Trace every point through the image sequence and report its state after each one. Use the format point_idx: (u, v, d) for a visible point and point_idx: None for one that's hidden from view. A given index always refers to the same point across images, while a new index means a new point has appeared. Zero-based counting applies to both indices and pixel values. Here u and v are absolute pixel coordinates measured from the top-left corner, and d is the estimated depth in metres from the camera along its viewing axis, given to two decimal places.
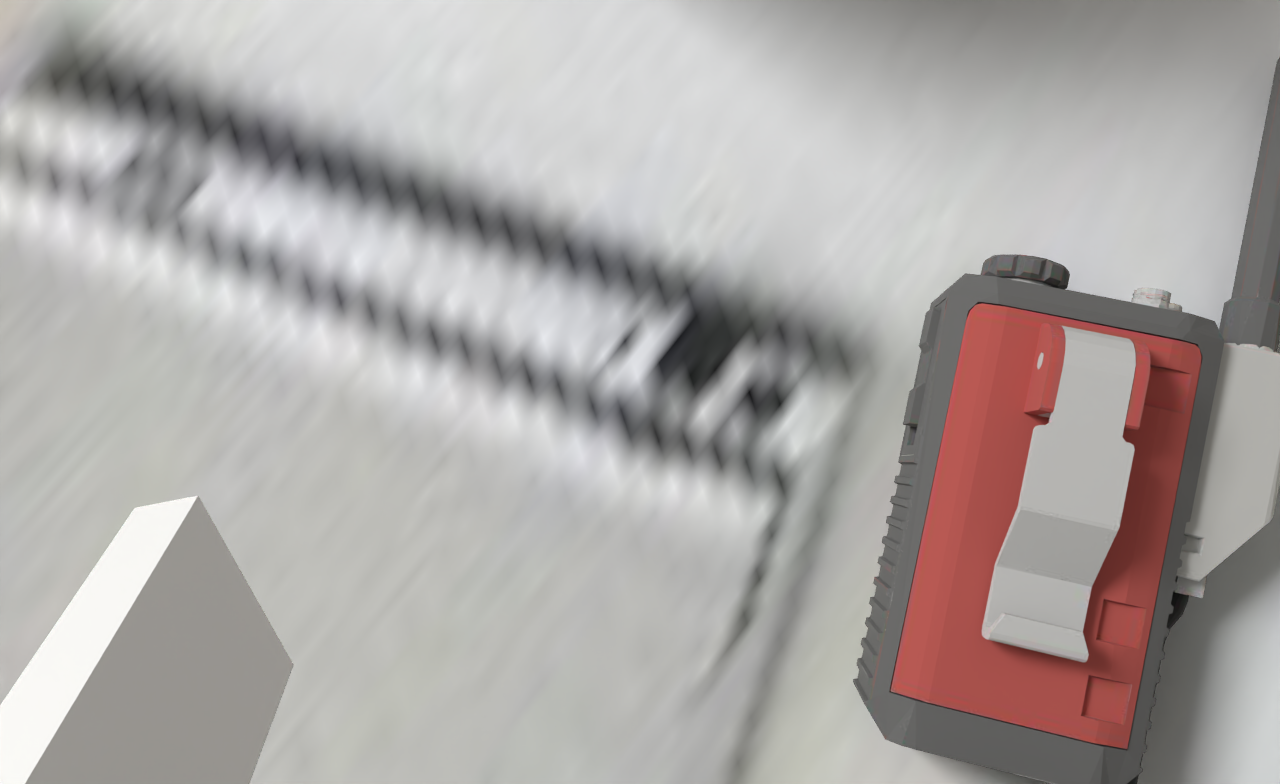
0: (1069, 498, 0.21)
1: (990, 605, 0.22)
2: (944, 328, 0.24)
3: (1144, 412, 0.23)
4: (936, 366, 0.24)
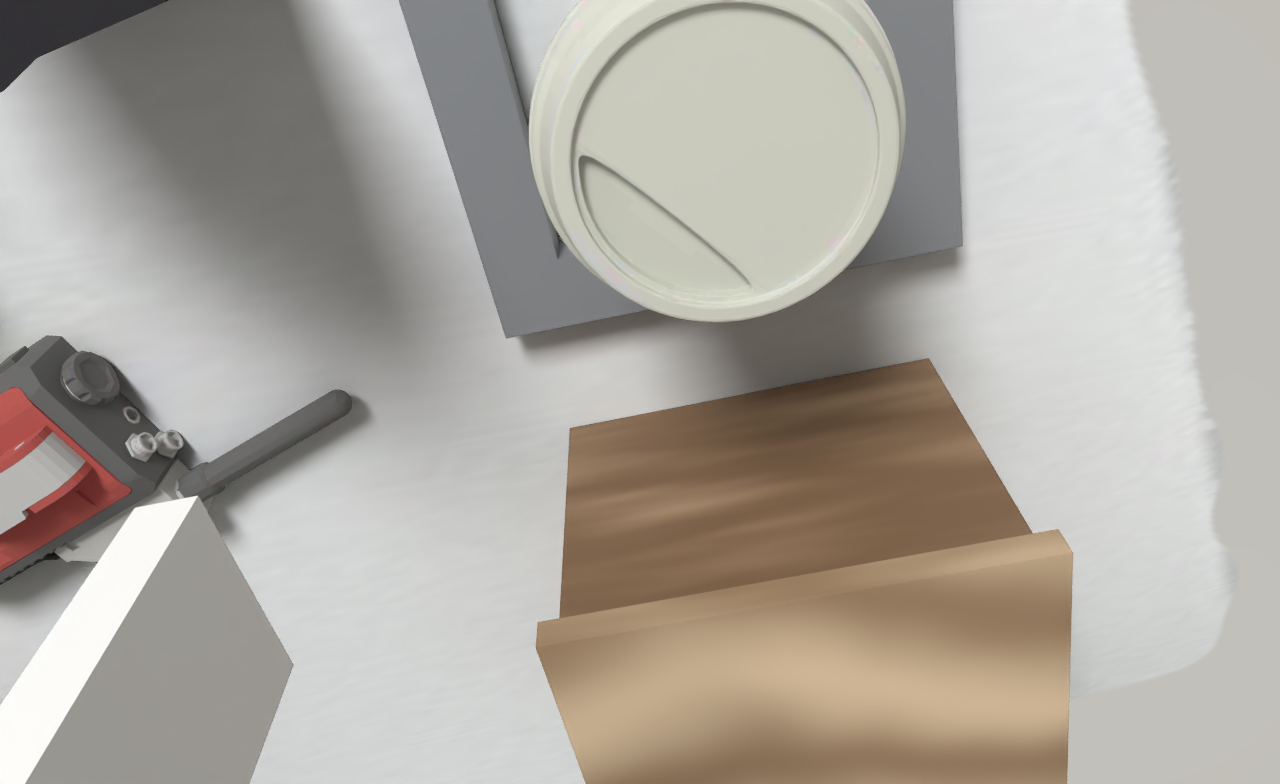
0: None
1: None
2: None
3: (73, 495, 0.36)
4: None
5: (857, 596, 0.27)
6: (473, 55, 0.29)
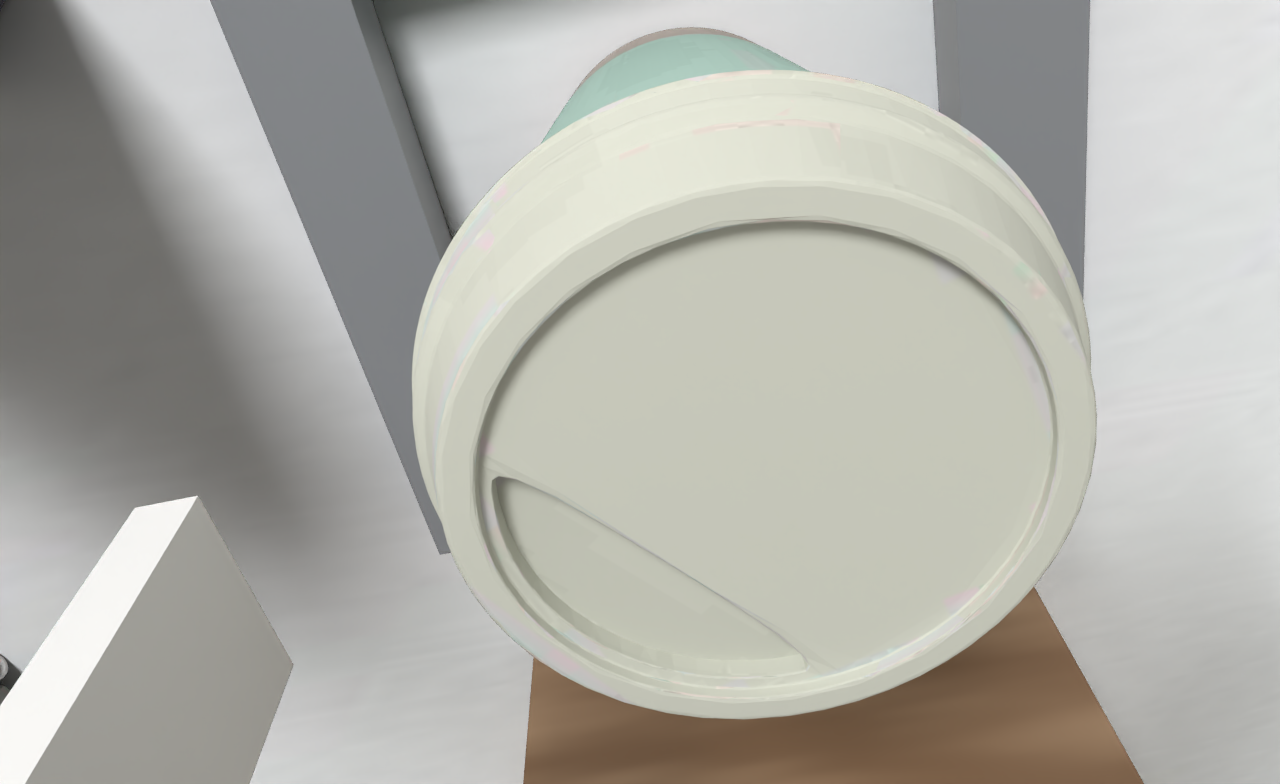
0: None
1: None
2: None
3: None
4: None
5: None
6: (372, 187, 0.20)
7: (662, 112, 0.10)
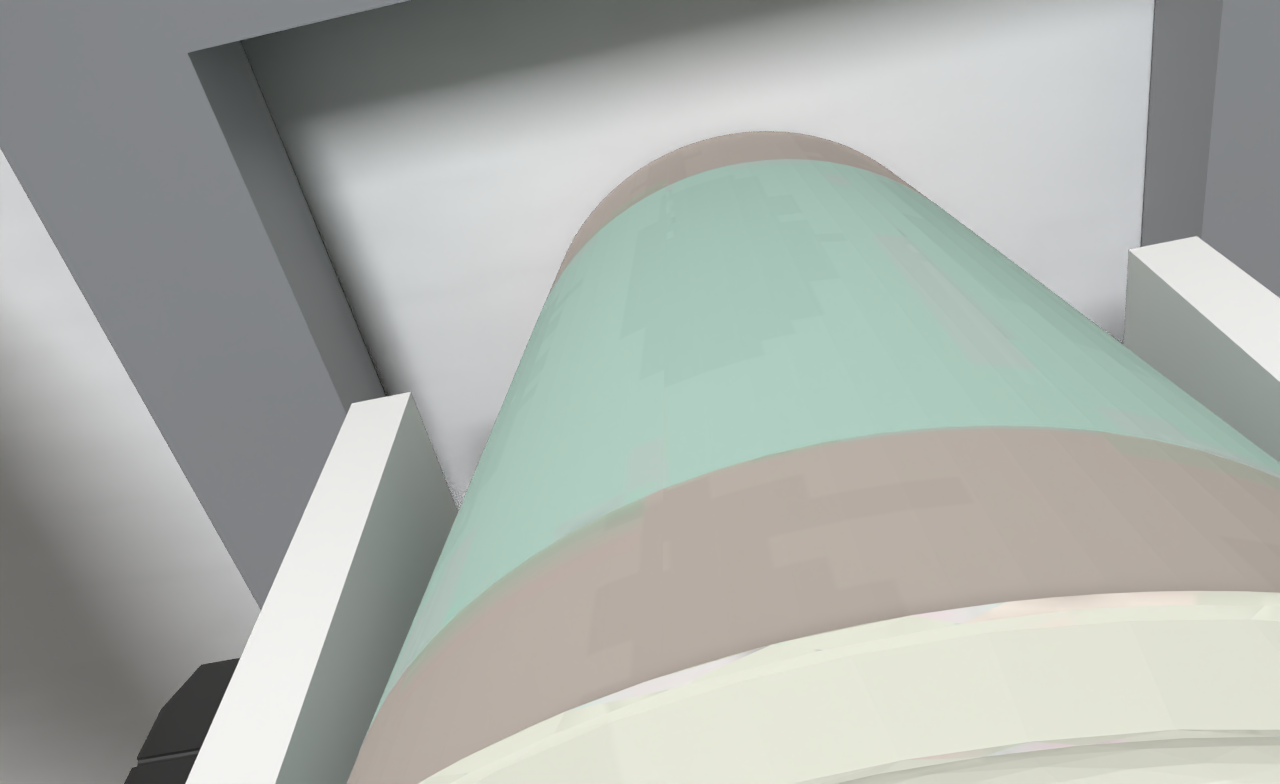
0: None
1: None
2: None
3: None
4: None
5: None
6: (265, 380, 0.13)
7: None
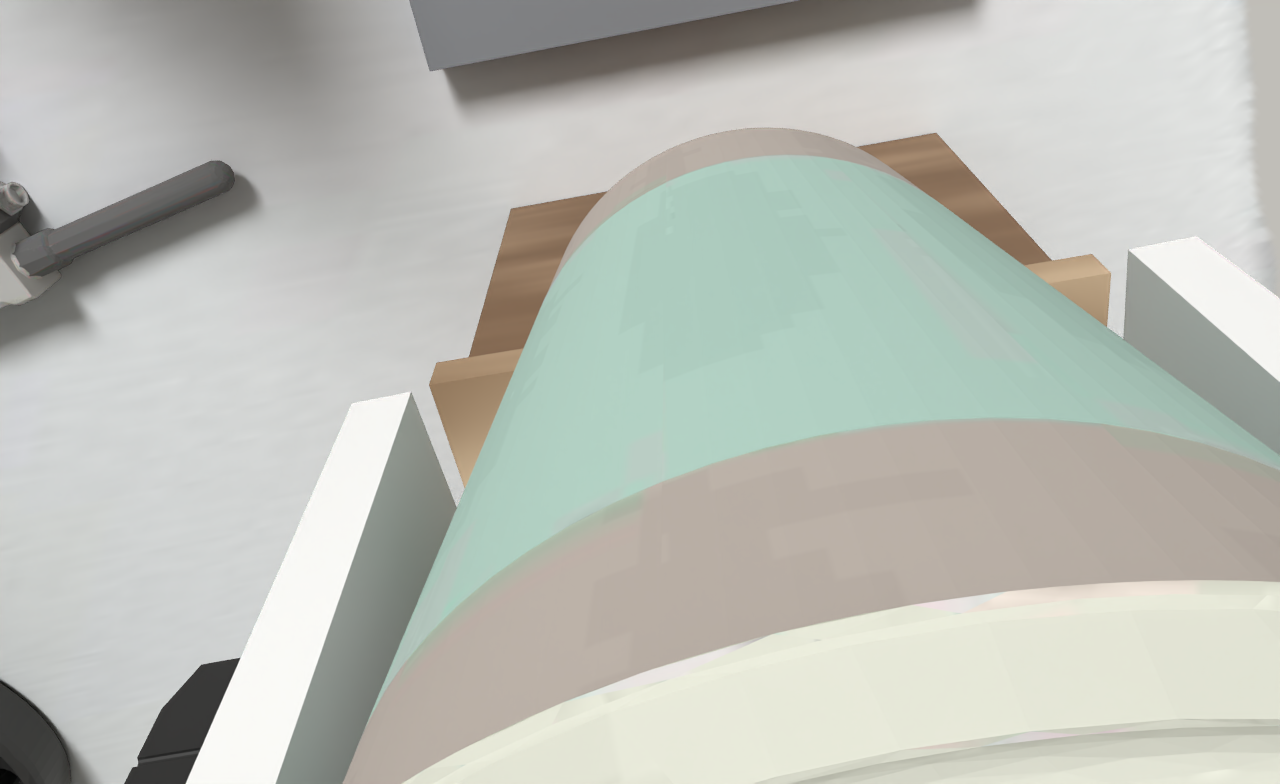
0: None
1: None
2: None
3: None
4: None
5: None
6: None
7: None
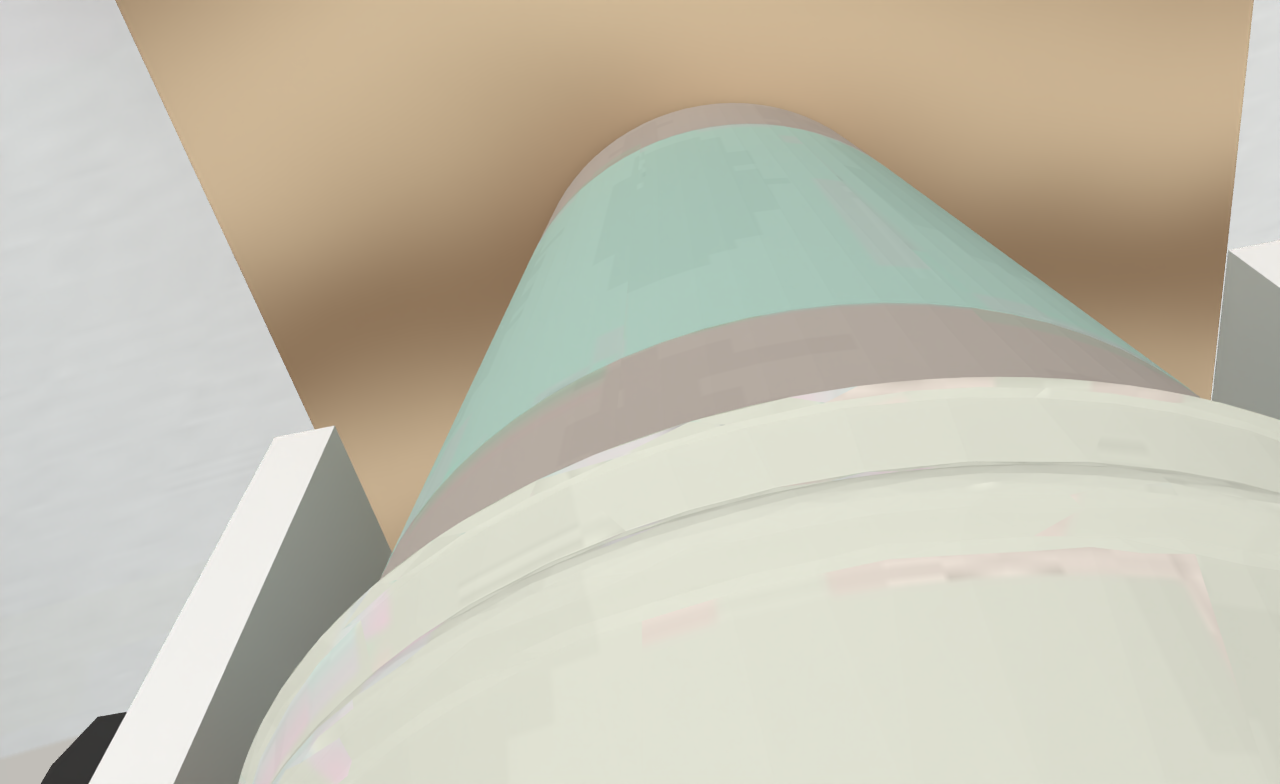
0: None
1: None
2: None
3: None
4: None
5: None
6: None
7: (746, 506, 0.04)
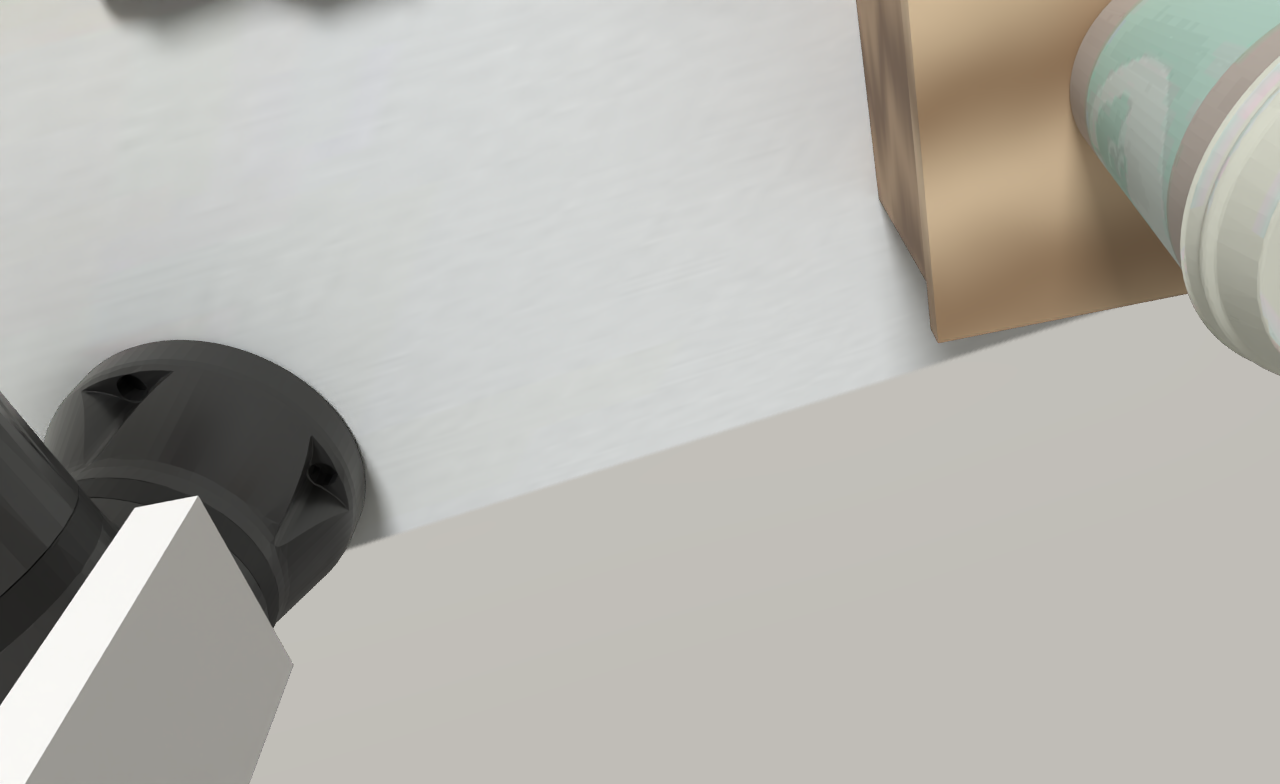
0: None
1: None
2: None
3: None
4: None
5: None
6: None
7: None
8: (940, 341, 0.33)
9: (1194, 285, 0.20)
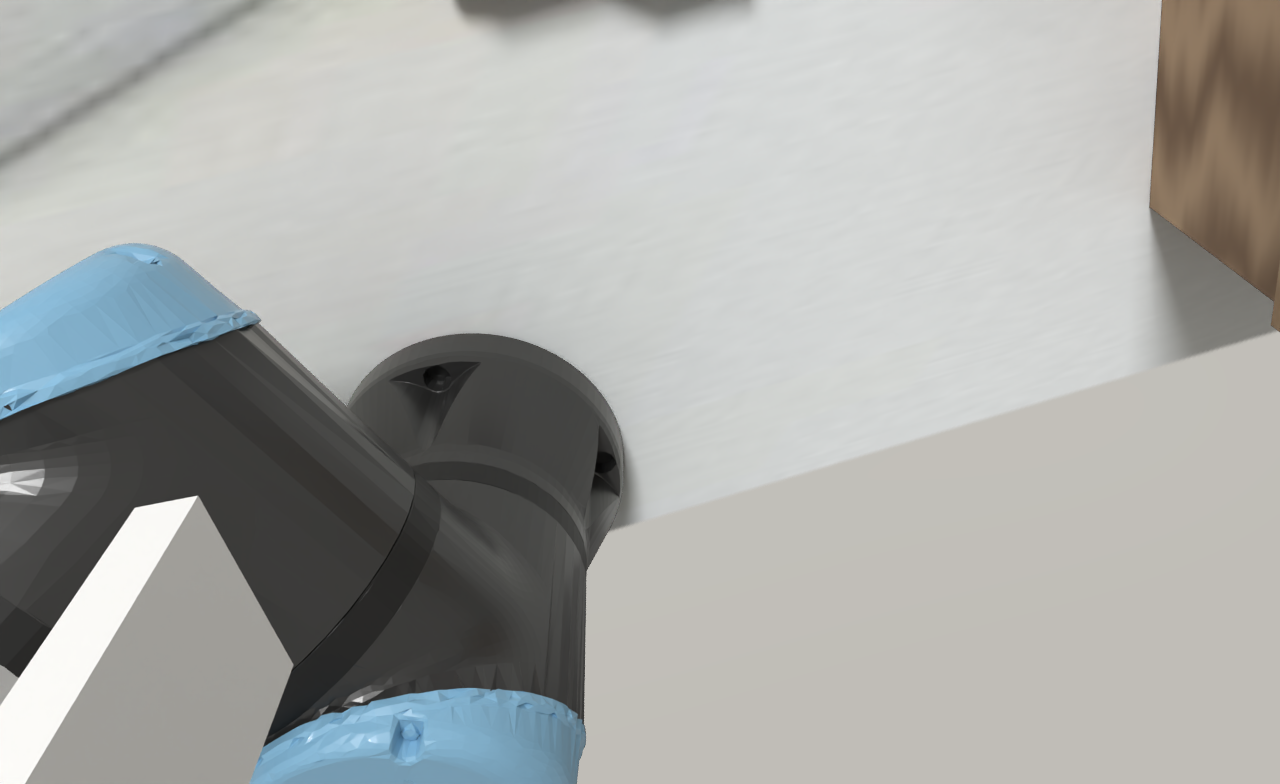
0: None
1: None
2: None
3: None
4: None
5: None
6: None
7: None
8: None
9: None
